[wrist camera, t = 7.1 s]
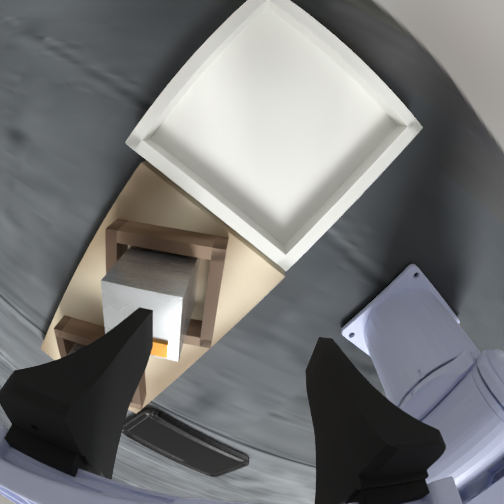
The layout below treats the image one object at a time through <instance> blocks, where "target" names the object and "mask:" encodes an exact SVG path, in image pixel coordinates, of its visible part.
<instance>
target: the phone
mask: <svg viewBox="0 0 504 504" xmlns="http://www.w3.org/2000/svg"><path fill="white" fill-rule="evenodd" d="M122 433H123V434H124V435H126V436H127V437H129V438H131V439H133V440H134V441H136V442H138V443H140V444H142V445H143V446H145V447H147V448H149V449H151V450H153V451H155V452H157V453H159V454H161V455H163V456H165V457H167V458H169V459H171V460H173V461H175V462H177V463H179V464H181V465H184V466H186V467H188V468H190V469H193V470H195V471H197V472H200V473H202V474H204V475H207V476H211V477H218V476H221V475H224V474H226V473H229V472H232V471H235V470H237V469H240V468H242V467H245V466H247V465H248V464H249V457H248V456H246V455H244V454H242V453H239V452H237V451H235V450H233V449H231V448H229V447H226V446H224V445H222V444H220V443H218V442H216V441H214V440H212V439H210V438H208V437H206V436H204V435H202V434H200V433H198V432H196V431H194V430H193V429H191V428H189V427H187V426H185V425H183V424H182V423H180V422H178V421H176V420H174V419H173V418H171V417H169V416H168V415H166V414H164V413H162V412H161V411H159V410H157V409H154V408H146V409H144V410H143V411H142V412H140V413H139V414H137V415H136V416H134V417H133V418H131V419H130V420H128V421H127V422H125V423H124V425H123V428H122Z"/></svg>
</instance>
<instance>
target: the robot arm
mask: <svg viewBox="0 0 504 504" xmlns="http://www.w3.org/2000/svg"><path fill="white" fill-rule="evenodd" d="M415 273H417V275H416V276H414V274H415ZM459 323H460V321H459V319H458V318H457V316H456V315H455V314H454V312H453V311H452V310H451V308H450V307H449V306H448V304H447V303H446V302H445V300H444V299H443V298H442V297H441V295H440V294H439V293H438V291H437V290H436V289H435V288H434V286H433V285H432V284H431V283H430V281H429V280H428V279H427V278H426V276H425V275H424V274H423V273H422V272H421V270H420V269H419V268H418V267H417V266H416V265H415V264H410V265H409V266H408V267H407V268H406V269H405V270H404V271H403V272H402V273H401V274H400V275H399V276H398V277H397V278H396V279H395V280H394V281H393V282H392V283H390V284H389V285H388V286H387V287H386V288H385V289H384V290H383V291H382V292H381V293H380V294H379V295H378V296H377V297H376V298H375V299H374V300H372V301H371V302H370V303H369V304H368V305H367V306H366V307H365V308H364V309H363V310H361V311H360V312H359V313H358V314H357V315H356V316H355V317H354V318H352V319H351V320H350V321H349V322H348V323H347V324H346V325H344V326H343V327H342V329H341V333H342V335H343V336H344V337H345V338H347V339H348V340H349V341H351V342H352V343H353V344H355V345H356V346H357V347H359V348H360V349H361V350H363V351H364V352H365V353H367V354H368V355H369V356H371V359H372V361H373V363H374V366H375V368H376V371H377V373H378V376H379V378H380V381H381V383H382V386H383V388H384V391H385V393H386V396H387V398H388V399H387V398H386V397H384V396H383V395H382V394H381V393H380V392H379V391H378V390H376V389H375V388H374V387H373V386H372V385H371V384H370V383H369V382H368V381H367V379H366V378H365V377H364V376H363V375H362V374H361V373H360V372H359V371H358V370H357V368H356V367H355V366H354V365H353V364H352V363H351V361H350V360H349V359H348V358H347V356H346V355H345V354H344V353H343V351H342V350H341V349H340V348H339V346H338V345H337V344H336V343H335V341H334V340H333V339H331V338H322V337H319V339H318V341H317V344H316V346H315V349H314V351H313V354H312V356H311V359H310V361H309V364H308V366H307V368H306V386H307V394H308V400H309V405H310V411H311V416H312V421H313V427H314V433H315V445H316V494H315V504H504V352H503V351H502V350H499V349H493V350H489V349H485V350H483V351H482V353H481V352H480V351H479V350H478V348H477V347H476V346H475V344H474V343H473V342H472V340H471V339H470V338H469V337H468V335H467V334H466V333H465V332H464V330H463V329H462V328H461V326H460V325H459ZM350 333H353V334H351V335H349V334H350ZM152 347H153V310H150V309H145V308H141V307H139V308H138V309H137V310H135V311H134V312H133V313H132V314H130V315H129V316H128V317H127V318H125V319H124V320H123V321H122V322H120V323H119V324H118V325H117V326H115V327H114V328H113V329H111V330H110V331H109V332H107V333H106V334H104V335H103V336H101V337H100V338H98V339H97V340H95V341H94V342H92V343H91V344H89V345H87V346H86V347H84V348H82V349H80V350H78V351H76V352H74V353H72V354H69V355H67V356H65V357H62V358H60V359H57V360H55V361H52V362H49V363H46V364H42V365H39V366H35V367H30V368H25V369H20V370H15V371H14V372H13V373H12V375H11V376H10V377H9V379H8V380H7V381H6V383H5V384H4V386H3V387H2V389H1V390H0V404H1V406H2V408H3V410H4V411H5V413H6V415H7V416H8V418H9V420H10V421H11V423H12V426H11V428H10V429H9V430H8V428H6V427H5V426H4V425H3V424H1V423H0V494H1V495H3V496H5V497H6V498H8V499H9V500H11V501H13V502H14V503H16V504H260V503H244V502H232V501H222V500H214V499H206V498H195V497H186V498H183V497H178V496H173V495H168V494H163V493H159V492H154V491H150V490H146V489H142V488H138V487H134V486H131V485H127V484H124V483H120V482H117V481H114V480H111V479H112V474H113V468H114V463H115V458H116V453H117V449H118V444H119V440H120V436H121V432H122V428H123V425H124V421H125V418H126V414H127V411H128V408H129V405H130V403H131V400H132V398H133V396H134V394H135V391H136V389H137V387H138V385H139V382H140V380H141V378H142V376H143V373H144V371H145V369H146V366H147V364H148V360H149V357H150V354H151V350H152Z"/></svg>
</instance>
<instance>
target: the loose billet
mask: <svg viewBox="0 0 504 504" xmlns="http://www.w3.org/2000/svg"><path fill="white" fill-rule="evenodd" d="M199 266H200V258H197V257H191V256H185V255H180V254H174V253H169V252H164V251H158V250H153V249H147V248H142V247H137V246H131V247H130V248H129V249H128V250H127V251H126V252H125V253H124V254H123V255H122V257H121V258H120V259H119V260H118V261H117V262H116V263H115V265H114V266H113V267H112V268H111V269H110V270H109V271H108V273H107V274H106V275H105V276H104V277H103V278H102V280H101V291H102V305H103V316H104V326H105V334H106V333H107V332H109V331H110V330H111V329H113V328H114V327H115V326H117V325H118V324H119V323H120V322H122V321H123V320H124V319H125V318H127V317H128V316H129V315H130V314H132V313H133V312H134V311H135V310H137V309H138V308H139V307H141V308H145V309H150V310H153V347H152V350H151V354H150V356H154V357H158V358H163V359H167V360H172V361H177V362H178V361H179V357H180V354H181V350H182V347H183V343H184V340H185V336H186V333H187V330H188V326H189V323H190V320H191V316H192V313H193V310H194V306H195V299H196V291H197V282H198V274H199Z"/></svg>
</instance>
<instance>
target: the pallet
mask: <svg viewBox="0 0 504 504" xmlns="http://www.w3.org/2000/svg"><path fill="white" fill-rule="evenodd" d="M131 246H137V247H142V248H147V249H153V250H158V251H164V252H169V253H174V254H180V255H185V256H191V257H197V258H200V266H199V274H198V282H197V291H196V299H195V306H194V310H193V313H192V316H191V320H190V323H189V326H188V330H187V333H186V336H185V340H184V343H183V347H182V350H181V354H180V357H179V361H178V362H177V361H172V360H167V359H163V358H158V357H154V356H150V357H149V360H148V364H147V366H146V369H145V371H144V373H143V376H142V378H141V380H140V382H139V385H138V387H137V389H136V391H135V394H134V396H133V398H132V400H131V403H130V405H129V408H128V409H129V410H130V411H132V412H134V413H135V414H137V413H138V412H139V411H140V410H142V408H144V407H145V406H146V405H147V404H148V403H149V402H150V401H152V400H153V399H154V398H155V397H156V396H157V395H158V394H160V393H161V392H162V391H163V390H164V389H165V388H166V387H168V386H169V385H170V384H171V383H172V382H173V381H174V380H175V379H177V378H178V377H179V376H180V375H181V374H182V373H183V372H184V371H185V370H187V369H188V368H189V367H190V366H191V365H192V364H193V363H194V362H195V361H197V360H198V359H199V358H200V357H201V356H202V355H203V354H204V353H205V352H206V351H207V350H209V349H210V348H211V347H212V346H213V345H214V344H215V343H216V342H217V341H218V340H219V339H220V338H221V337H223V336H224V335H225V334H226V333H227V332H228V331H229V330H230V329H231V328H232V327H233V326H234V325H235V324H236V323H237V322H239V321H240V320H241V319H242V318H243V317H244V316H245V315H246V314H247V313H248V312H249V311H250V310H251V309H252V308H253V307H254V306H255V305H256V304H257V303H258V302H260V301H261V300H262V299H263V298H264V297H265V296H266V295H267V294H268V293H269V292H270V291H271V290H272V289H273V288H274V287H275V286H276V285H277V284H278V283H279V282H280V281H281V280H282V279H283V278H284V277H285V273H284V270H283V269H282V268H281V267H280V266H278V265H277V264H276V263H275V262H273V261H272V260H271V259H270V258H268V257H267V256H266V255H265V254H263V253H262V252H261V251H260V250H258V249H257V248H256V247H255V246H253V245H252V244H251V243H250V242H248V241H247V240H246V239H245V238H243V237H242V236H241V235H240V234H238V233H237V232H236V231H235V230H233V229H232V228H231V227H230V226H228V225H227V224H226V223H225V222H223V221H222V220H221V219H220V218H218V217H217V216H216V215H215V214H213V213H212V212H211V211H210V210H208V209H207V208H206V207H205V206H203V205H202V204H201V203H200V202H198V201H197V200H196V199H194V198H193V197H192V196H191V195H189V194H188V193H187V192H186V191H184V190H183V189H182V188H181V187H179V186H178V185H177V184H176V183H174V182H173V181H172V180H171V179H169V178H168V177H167V176H165V175H164V174H163V173H162V172H160V171H159V170H158V169H157V168H155V167H154V166H153V165H152V164H150V163H149V162H148V161H147V160H146V161H143V162H141V163H140V165H139V166H138V168H137V169H136V170H135V172H134V173H133V175H132V176H131V178H130V179H129V181H128V182H127V184H126V185H125V187H124V189H123V190H122V192H121V193H120V195H119V196H118V198H117V200H116V201H115V203H114V204H113V206H112V208H111V209H110V211H109V212H108V214H107V216H106V217H105V219H104V221H103V222H102V224H101V226H100V228H99V229H98V231H97V233H96V235H95V236H94V238H93V240H92V242H91V243H90V245H89V247H88V249H87V251H86V253H85V254H84V256H83V258H82V260H81V262H80V264H79V266H78V268H77V270H76V272H75V273H74V275H73V277H72V279H71V281H70V283H69V286H68V288H67V290H66V292H65V294H64V296H63V298H62V300H61V302H60V304H59V307H58V309H57V311H56V313H55V316H54V318H53V320H52V322H51V325H50V327H49V329H48V332H47V334H46V337H45V339H44V342H43V344H42V347H41V349H42V350H43V351H44V352H45V353H47V354H48V355H49V356H50V357H52V358H53V359H54V360H57V359H60V358H62V357H65V356H67V355H68V353H69V352H70V350H71V349H72V347H73V346H74V344H75V343H79V344H82V345H86V346H87V345H89V344H91V343H92V342H94V341H95V340H97V339H98V338H100V337H101V336H103V335H104V334H105V326H104V316H103V305H102V291H101V280H102V278H103V277H104V276H105V275H106V274H107V273H108V271H109V270H110V269H111V268H112V267H113V266H114V265H115V263H116V262H117V261H118V260H119V259H120V258H121V257H122V255H123V254H124V253H125V252H126V251H127V250H128V249H129V248H130V247H131Z"/></svg>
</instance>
